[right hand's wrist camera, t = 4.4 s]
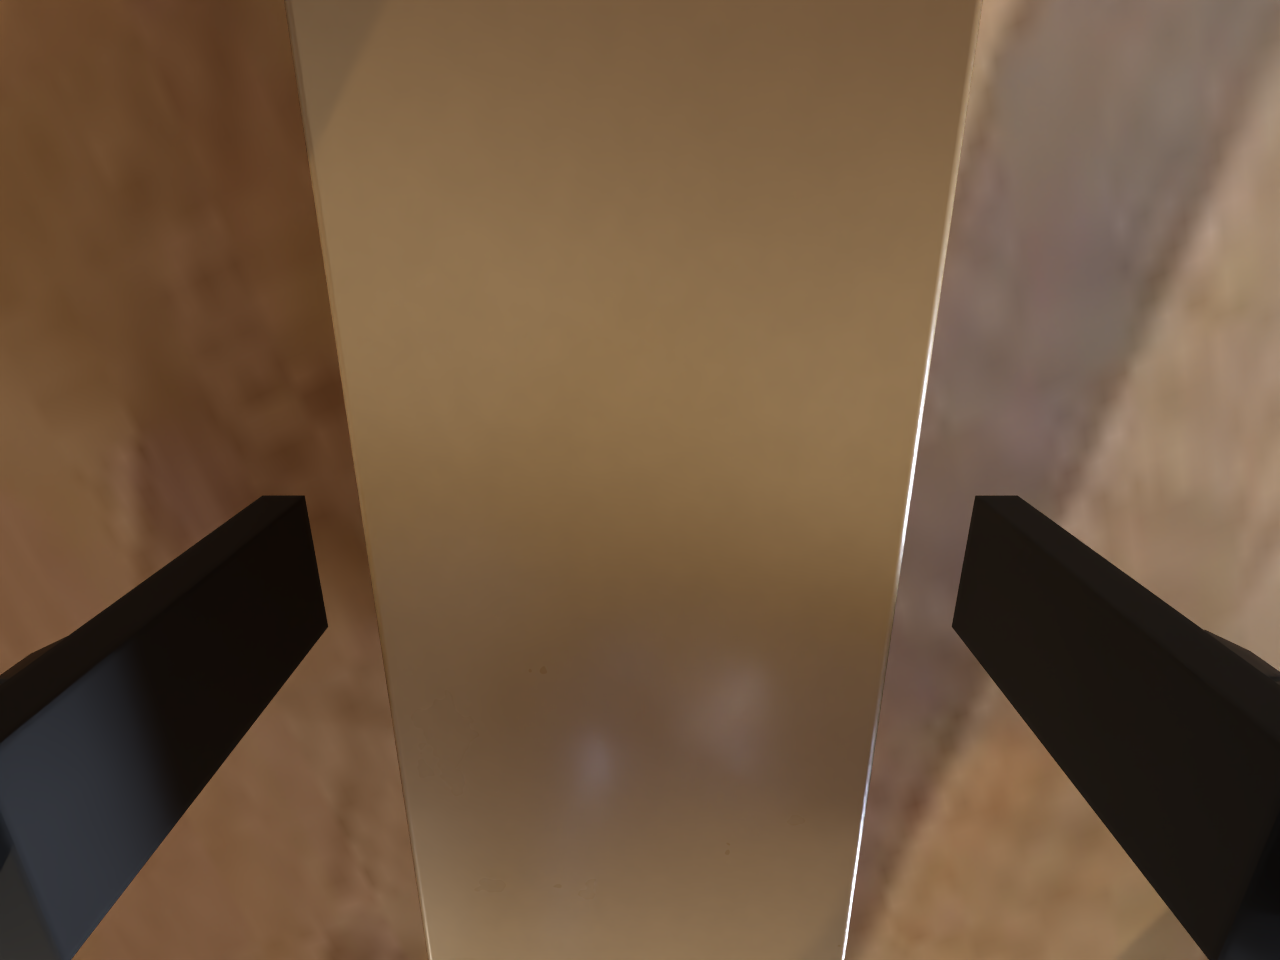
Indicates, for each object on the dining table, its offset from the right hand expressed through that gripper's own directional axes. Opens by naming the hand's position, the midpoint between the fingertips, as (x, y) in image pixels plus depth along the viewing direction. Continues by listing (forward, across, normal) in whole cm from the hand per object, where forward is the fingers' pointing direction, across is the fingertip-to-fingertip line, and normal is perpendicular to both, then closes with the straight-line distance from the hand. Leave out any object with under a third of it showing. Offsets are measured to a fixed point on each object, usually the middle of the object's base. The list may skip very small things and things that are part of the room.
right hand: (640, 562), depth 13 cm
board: (+2, 0, -19) cm, 19 cm away
